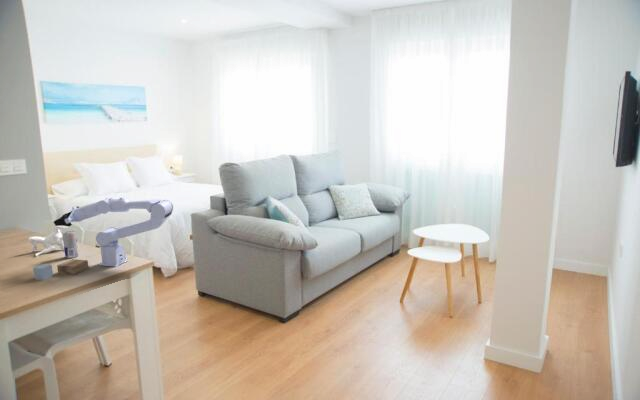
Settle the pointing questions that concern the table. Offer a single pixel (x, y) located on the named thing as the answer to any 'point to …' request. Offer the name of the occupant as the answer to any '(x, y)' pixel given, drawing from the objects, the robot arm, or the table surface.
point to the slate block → (43, 271)
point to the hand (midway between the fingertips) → (60, 220)
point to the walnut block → (72, 267)
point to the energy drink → (70, 244)
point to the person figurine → (48, 241)
